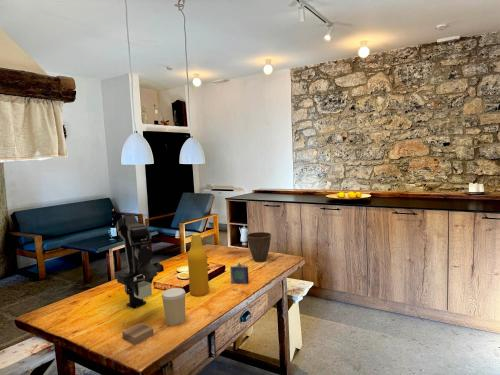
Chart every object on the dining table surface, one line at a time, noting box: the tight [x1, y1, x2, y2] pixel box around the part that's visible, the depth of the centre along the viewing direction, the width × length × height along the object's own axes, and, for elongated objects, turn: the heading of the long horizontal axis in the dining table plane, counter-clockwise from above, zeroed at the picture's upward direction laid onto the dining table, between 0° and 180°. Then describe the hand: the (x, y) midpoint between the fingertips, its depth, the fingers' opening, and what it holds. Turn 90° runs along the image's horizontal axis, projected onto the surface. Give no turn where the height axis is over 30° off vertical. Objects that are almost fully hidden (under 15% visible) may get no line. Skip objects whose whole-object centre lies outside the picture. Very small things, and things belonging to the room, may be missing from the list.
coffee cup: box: [161, 287, 186, 326], centre depth 139 cm, size 9×9×12 cm
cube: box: [134, 281, 153, 300], centre depth 141 cm, size 5×5×5 cm
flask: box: [230, 262, 249, 285], centre depth 177 cm, size 9×3×11 cm, turn 79°
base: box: [121, 322, 155, 346], centre depth 129 cm, size 8×8×3 cm
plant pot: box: [246, 231, 272, 263], centre depth 212 cm, size 15×15×16 cm
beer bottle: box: [187, 232, 210, 297], centre depth 166 cm, size 9×9×29 cm
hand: (142, 293), depth 141 cm, fingers closed on cube, 5 cm apart
